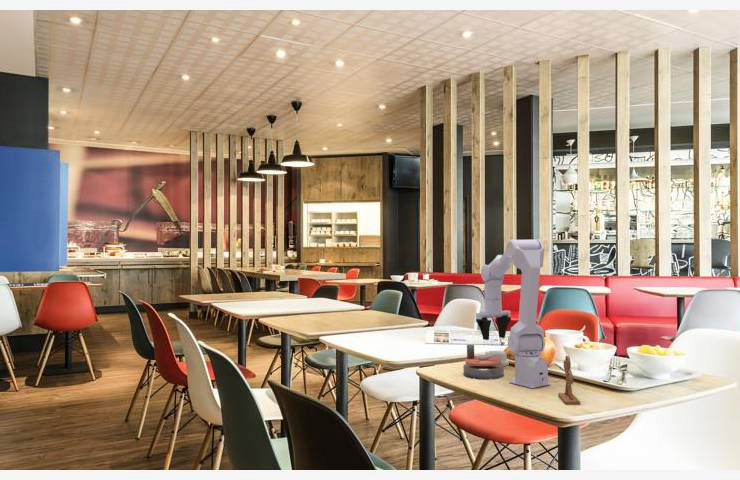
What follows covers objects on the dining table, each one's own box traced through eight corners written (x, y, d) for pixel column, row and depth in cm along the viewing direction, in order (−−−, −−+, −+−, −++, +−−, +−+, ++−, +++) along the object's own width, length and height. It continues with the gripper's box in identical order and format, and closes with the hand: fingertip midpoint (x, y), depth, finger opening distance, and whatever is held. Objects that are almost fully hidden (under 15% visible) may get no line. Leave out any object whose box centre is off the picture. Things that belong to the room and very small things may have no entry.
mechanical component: (483, 361, 209) (480, 366, 199) (483, 349, 209) (480, 353, 199) (511, 362, 206) (509, 367, 196) (510, 350, 206) (509, 354, 196)
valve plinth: (512, 375, 182) (512, 366, 182) (482, 381, 175) (482, 371, 175) (484, 369, 193) (484, 360, 193) (455, 374, 186) (455, 364, 186)
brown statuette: (580, 405, 146) (579, 358, 146) (565, 404, 146) (563, 358, 146) (572, 396, 154) (571, 352, 155) (558, 396, 155) (556, 352, 155)
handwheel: (507, 363, 185) (506, 345, 185) (492, 369, 176) (492, 350, 176) (474, 360, 192) (474, 342, 192) (459, 366, 182) (458, 347, 183)
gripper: (499, 297, 201) (500, 335, 201) (469, 299, 193) (470, 339, 193) (514, 298, 195) (515, 337, 195) (483, 301, 187) (484, 341, 187)
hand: (494, 338), depth 193 cm, fingers open, 7 cm apart
